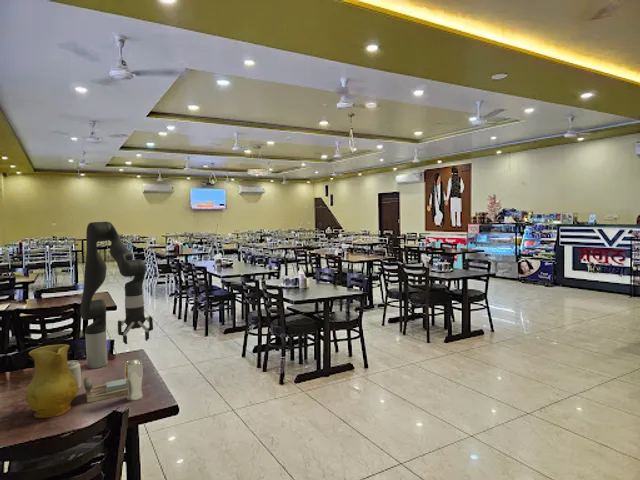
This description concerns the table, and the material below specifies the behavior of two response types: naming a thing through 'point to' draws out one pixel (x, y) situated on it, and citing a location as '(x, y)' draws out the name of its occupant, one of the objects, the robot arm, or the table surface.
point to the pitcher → (51, 382)
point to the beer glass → (133, 379)
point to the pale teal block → (116, 385)
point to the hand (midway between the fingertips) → (136, 342)
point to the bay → (92, 389)
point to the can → (75, 370)
